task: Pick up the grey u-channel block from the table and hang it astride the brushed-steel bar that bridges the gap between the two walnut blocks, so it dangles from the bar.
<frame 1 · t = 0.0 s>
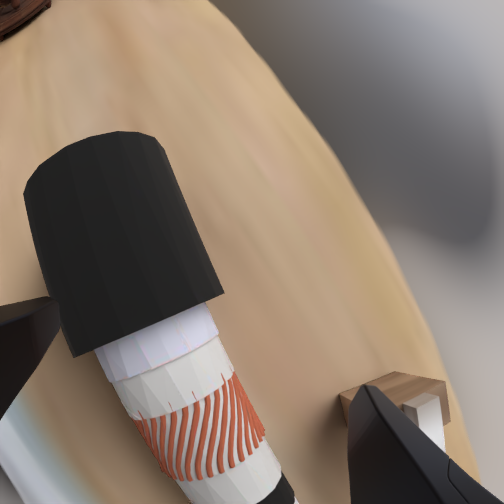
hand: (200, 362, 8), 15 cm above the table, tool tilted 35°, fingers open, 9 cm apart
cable: (203, 405, 22), on the table
dark brown knobby piece: (22, 16, 32), on the table
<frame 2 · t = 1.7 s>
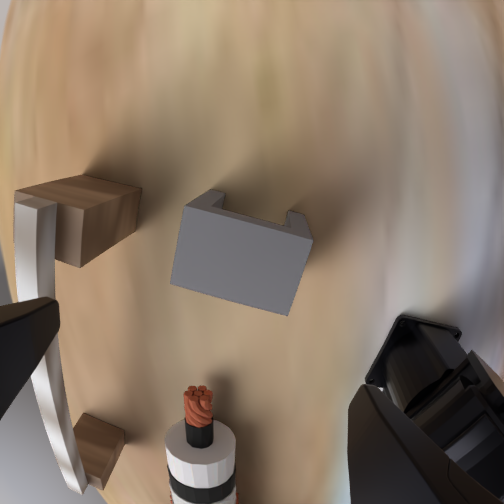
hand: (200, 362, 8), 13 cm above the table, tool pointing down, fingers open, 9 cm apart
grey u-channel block: (249, 231, 20), on the table
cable: (210, 476, 30), on the table
hook stand: (98, 345, 24), on the table
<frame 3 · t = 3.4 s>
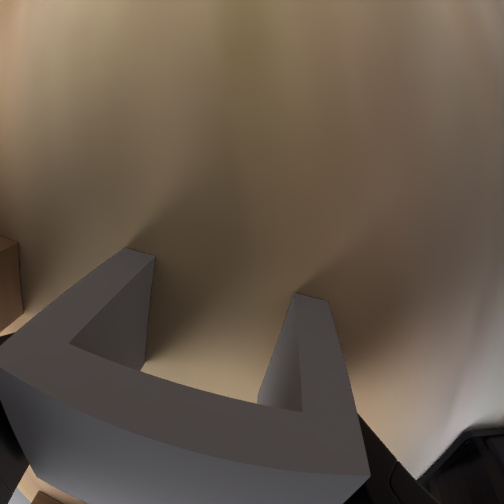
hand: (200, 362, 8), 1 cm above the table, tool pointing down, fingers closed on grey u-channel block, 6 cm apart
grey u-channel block: (210, 333, 10), on the table, touching gripper
hook stand: (29, 440, 14), on the table
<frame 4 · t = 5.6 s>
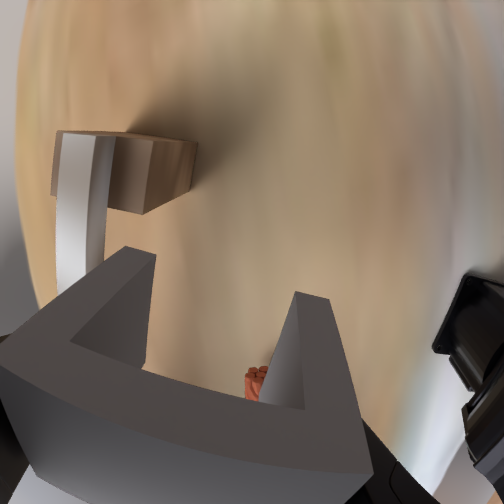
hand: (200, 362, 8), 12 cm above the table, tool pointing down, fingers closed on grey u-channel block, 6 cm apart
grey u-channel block: (211, 332, 9), point 11 cm above the table, touching gripper
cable: (262, 473, 28), on the table
hook stand: (138, 331, 23), on the table
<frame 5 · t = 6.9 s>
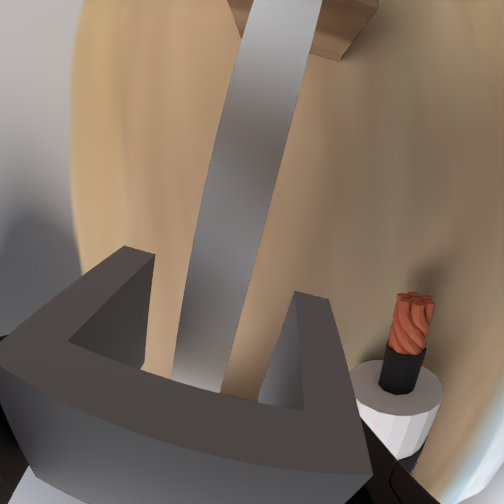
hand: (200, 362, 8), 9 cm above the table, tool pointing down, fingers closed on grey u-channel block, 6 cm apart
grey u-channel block: (210, 332, 9), point 8 cm above the table, touching gripper
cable: (349, 457, 23), on the table
hook stand: (238, 251, 17), on the table
when the fingers open (7 cm above the table, at t = 7.9 s): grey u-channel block drops 1 cm, resting on hook stand.
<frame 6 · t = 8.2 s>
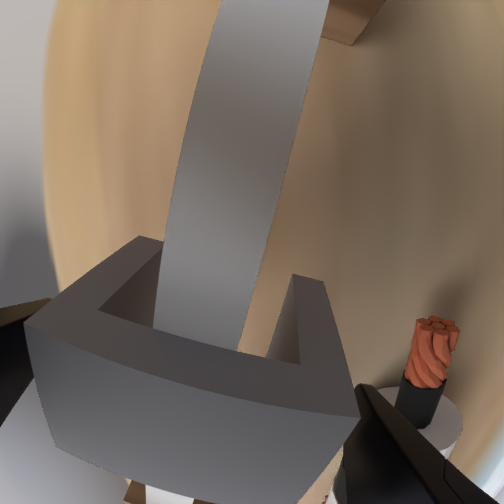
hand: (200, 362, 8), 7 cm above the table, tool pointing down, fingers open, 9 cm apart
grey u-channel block: (217, 313, 11), point 4 cm above the table, touching hook stand
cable: (355, 481, 20), on the table
hook stand: (232, 270, 14), on the table
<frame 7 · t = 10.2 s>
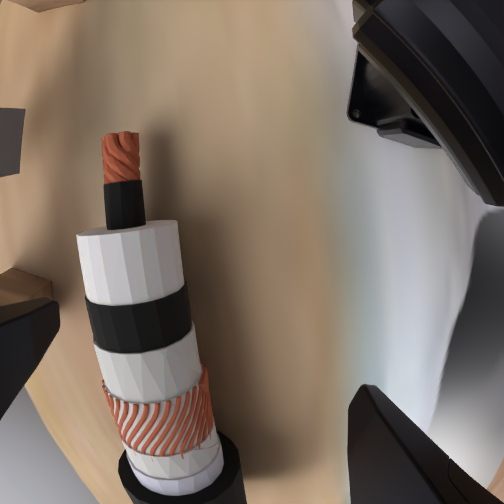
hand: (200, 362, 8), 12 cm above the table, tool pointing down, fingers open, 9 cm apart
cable: (175, 363, 24), on the table
hook stand: (30, 140, 19), on the table
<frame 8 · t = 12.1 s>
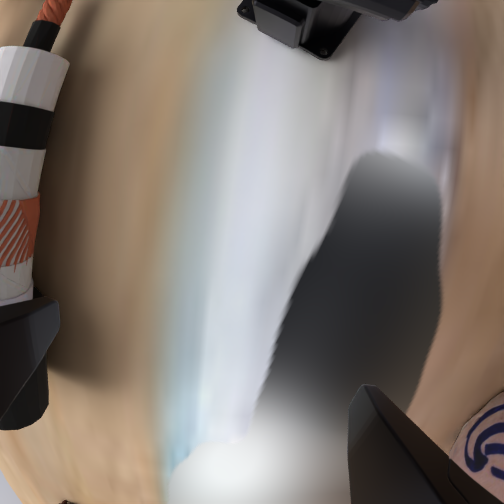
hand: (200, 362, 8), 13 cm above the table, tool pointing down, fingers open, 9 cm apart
ceramic pitcher: (480, 425, 25), on the table
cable: (30, 206, 21), on the table
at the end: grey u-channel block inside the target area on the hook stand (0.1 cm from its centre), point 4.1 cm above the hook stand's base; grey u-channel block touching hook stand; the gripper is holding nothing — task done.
